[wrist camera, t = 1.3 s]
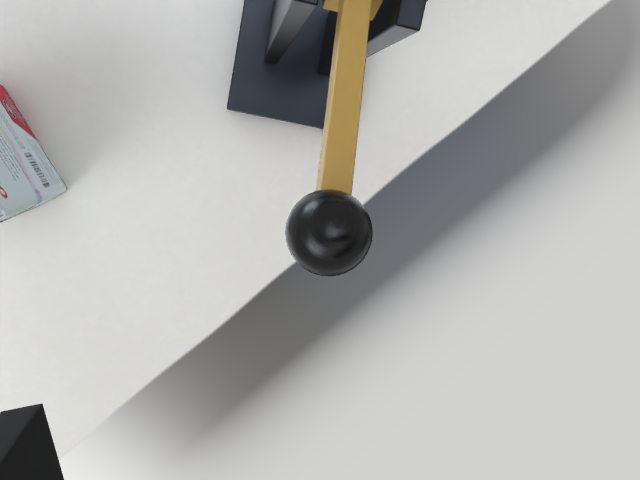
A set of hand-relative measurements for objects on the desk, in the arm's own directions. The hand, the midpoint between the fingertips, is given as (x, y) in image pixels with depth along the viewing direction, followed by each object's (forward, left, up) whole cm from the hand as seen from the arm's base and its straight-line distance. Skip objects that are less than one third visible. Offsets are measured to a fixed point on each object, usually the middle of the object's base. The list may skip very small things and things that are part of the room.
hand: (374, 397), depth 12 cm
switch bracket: (+4, -11, -33) cm, 35 cm away
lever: (+2, -6, -12) cm, 13 cm away
